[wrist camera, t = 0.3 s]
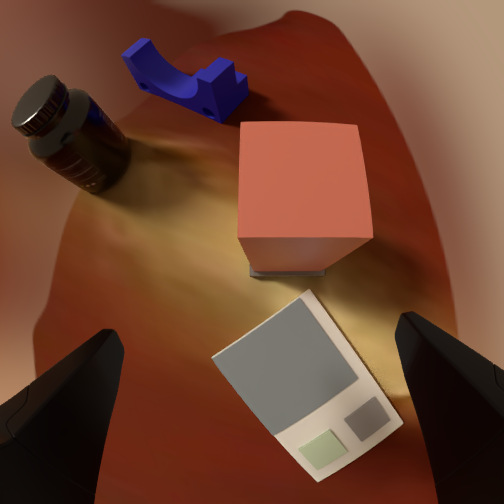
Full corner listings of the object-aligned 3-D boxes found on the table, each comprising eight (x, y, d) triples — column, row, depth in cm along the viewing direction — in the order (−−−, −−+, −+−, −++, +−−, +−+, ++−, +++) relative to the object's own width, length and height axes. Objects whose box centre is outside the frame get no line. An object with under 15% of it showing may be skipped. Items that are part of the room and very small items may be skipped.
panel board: (400, 420, 19) (405, 424, 18) (316, 478, 18) (318, 483, 17) (308, 289, 21) (309, 288, 21) (213, 355, 21) (210, 358, 20)
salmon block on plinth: (322, 276, 22) (381, 245, 10) (250, 276, 22) (229, 246, 10) (319, 207, 23) (362, 120, 11) (251, 207, 23) (233, 116, 11)
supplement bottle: (83, 144, 25) (20, 83, 14) (136, 129, 25) (80, 50, 13) (74, 200, 24) (-8, 150, 12) (129, 188, 24) (51, 119, 12)
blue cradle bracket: (248, 95, 25) (244, 52, 19) (221, 124, 25) (210, 82, 19) (166, 65, 27) (151, 30, 21) (140, 89, 26) (121, 55, 21)
